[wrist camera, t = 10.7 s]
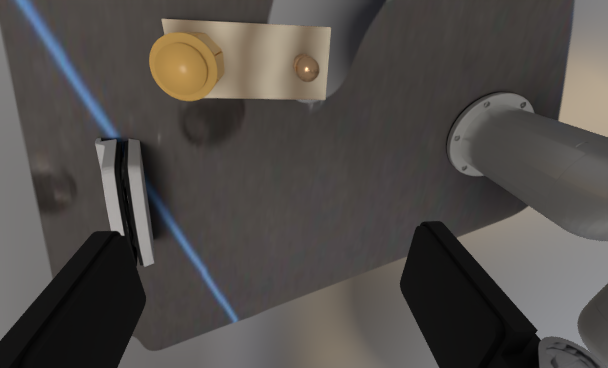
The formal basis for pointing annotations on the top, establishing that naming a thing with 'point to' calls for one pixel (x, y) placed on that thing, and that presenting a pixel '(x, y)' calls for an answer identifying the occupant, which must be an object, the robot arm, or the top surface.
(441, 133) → the top surface
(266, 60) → the plate
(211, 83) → the cap
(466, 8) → the top surface
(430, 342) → the robot arm
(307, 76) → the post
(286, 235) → the top surface
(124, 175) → the hinge
